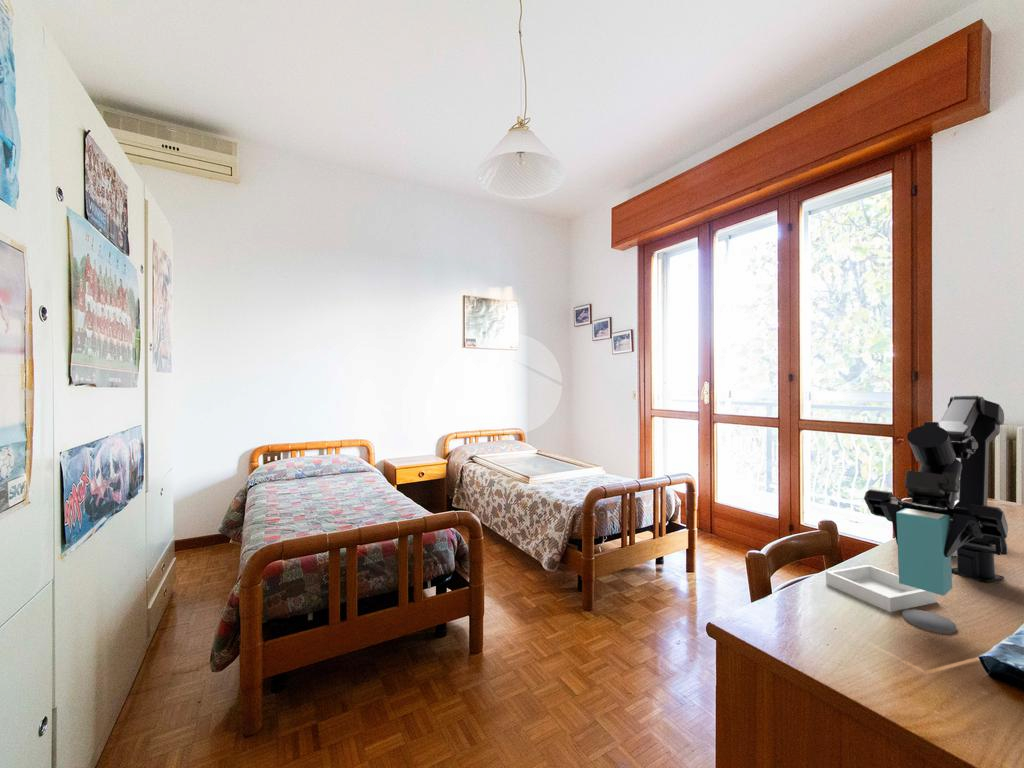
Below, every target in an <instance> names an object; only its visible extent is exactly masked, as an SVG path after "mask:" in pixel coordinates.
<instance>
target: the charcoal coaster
mask: <svg viewBox="0 0 1024 768" xmlns="http://www.w3.org/2000/svg"><path fill="white" fill-rule="evenodd" d="M901 615H902V618H903V620H904V621H905V622H907V623H909V624H910V625H912V626H915V627H917V628H918V629H922V630H926V631H929V632H932V633H938V634H945V635H946V634H947V635H948V634H955V633H956V632H957V625H956V623H955V621H954V622H953V620H951V619H949V618H947V617H945V616H942V615H939V614H937V613H934V612H930V611H927V610H921V609H911V608H908V609H903V610H902V614H901Z"/></svg>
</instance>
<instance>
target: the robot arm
mask: <svg viewBox="0 0 1024 768" xmlns="http://www.w3.org/2000/svg"><path fill="white" fill-rule="evenodd" d="M1004 412H1005V411H1004V409H1003V408H1002V406H1001V404H999V403H996V402H993V401H990V400H986V399H985V398H984V397H983V396H980V395H954V396H950V398H949V402H948V403H947V409H946V410H945V412H944V414H943V416H942V417H941V419H940V421H939V422H938V421H924V423H923V425H920V426H917V427H915V428H914V427H913V429H911V430H910V431H909V432H908V433H907V435H906V437H907V440H908V442H909V445H910V448H911V450H912V453H913V455H914V457H915V461H916V462H918V463H920V466H919V470H918V471H917V470H906V471H905V477H904V478H905V480H904V487H903V488H905V489H907V493H906V496H907V497H908V499H911V500H910V501H909V500H901V499H900V498H899V497H895V496H894V493H893V491H892V492H891V491H885V490H881V489H880V490H879V489H868V490H867V491H865V494H864V497H863V499H864V502H865V504H866V506H867V508H868V509H869V511H870V513H871V514H872V515H874V516H876V517H877V516H878V517H883V518H886V520H887V521H888V522H891V523H892V526H893V532H894V537H895V542H896V545H897V546H898V542H897V515H896V513H897V512H899V511H901V510H903V509H905V508H908V509H914V510H920V511H926V512H932V513H938V514H944V515H949V519H950V532H949V535H948V538H947V541H946V544H945V549H944V555H945V557H949V556H950V555H952V554H953V553H954V552H955V551H956V550H957V557H956V563H957V564H956V565H957V567H951V570H952V573H954V574H958V575H961V576H964V577H966V578H969V579H973V580H976V581H979V582H983V583H990V582H995V581H1000V580H1004V579H1005V576H1003V575H1000V574H997V573H996V570H995V569H996V568H995V566H996V565H995V555H997V556H1001V555H1007V556H1008V544H1007V540H1006V539H1007V537H1008V531H1009V525H1008V522H1007V519H1006V515H1005V512H1004V510H1002V508H1000V507H997V506H989V505H988V497H989V496H988V494H989V493H988V492H989V491H988V489H989V460H990V459H989V458H990V456H989V455H990V443H991V442H992V441H993V440H994V439H996V437H997V436H998V435H999V434H1000V433H1001V432H1000V431H1001V425H1002V426H1003V425H1004V424H1005V413H1004ZM959 459H960V460H959ZM959 479H960V481H959ZM959 487H960V491H959ZM958 492H959V502H958V503H957V504H955V501H956V500H957V495H956V494H957V493H958ZM954 504H955V505H954Z"/></svg>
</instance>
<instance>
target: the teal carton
mask: <svg viewBox="0 0 1024 768" xmlns="http://www.w3.org/2000/svg"><path fill="white" fill-rule="evenodd" d="M896 515H897V542H898V545H897V560H898V561H897V563H898V564H897V565H898V575H899V583H900V584H904V585H907V586H911V587H915V588H918V589H922V590H925V591H929V592H932V593H936V594H937V595H940V596H946V594H948V593H949V592H950V591H951V590H952V589H953V575H952V573H953V572H952V570H951V568H952V556H951V555H950V556H949V557H945V555H944V549H945V544H946V541H947V538H948V535H949V532H950V519H949V515H944V514H938V513H932V512H926V511H920V510H914V509H908V508H905V509H903V510H901V511H899V512H897V513H896Z"/></svg>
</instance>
